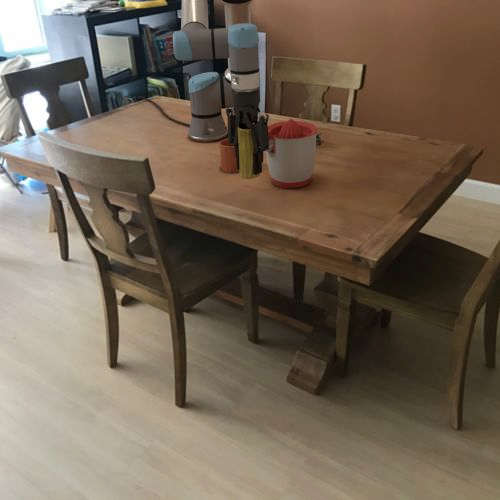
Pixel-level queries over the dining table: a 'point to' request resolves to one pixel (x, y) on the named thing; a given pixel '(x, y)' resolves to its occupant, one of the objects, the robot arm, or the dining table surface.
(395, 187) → the dining table surface
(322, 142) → the rhino figurine
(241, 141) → the vase
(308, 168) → the citrus juicer
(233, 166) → the terracotta cup
